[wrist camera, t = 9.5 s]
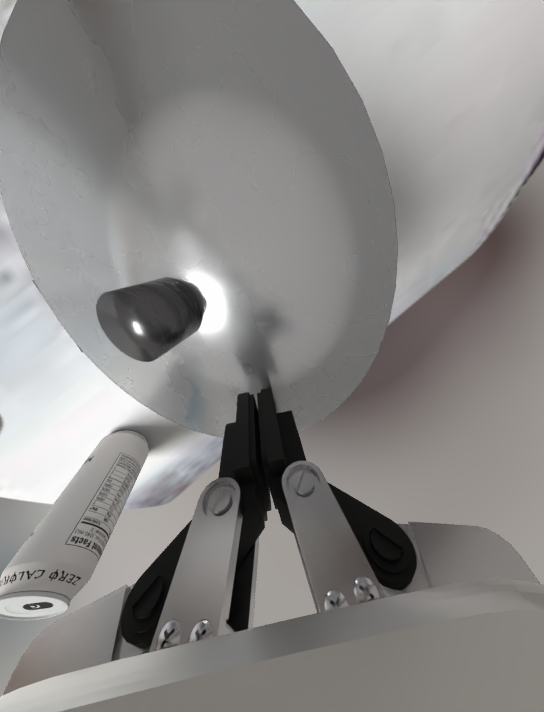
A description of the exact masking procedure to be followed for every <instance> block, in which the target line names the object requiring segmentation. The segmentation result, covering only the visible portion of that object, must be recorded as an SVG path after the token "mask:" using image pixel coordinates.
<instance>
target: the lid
mask: <svg viewBox="0 0 544 712" xmlns="http://www.w3.org/2000/svg"><path fill="white" fill-rule="evenodd" d="M0 190H1V194H2V199H3V203H4V206H5V209H6V212H7V216H8V219H9V222H10V225H11V228H12V231H13V234H14V236H15V239H16V241H17V244H18V246H19V249H20V251H21V254H22V256H23V258H24V260H25V262H26V265H27V267H28V269H29V271H30V273H31V275H32V277H33V279H34V280H32V281H33V282H34V284H35V285H36V287H37V288H38V290H39V291H40V292H41V294H42V295H43V297H44V299H45V300H46V302H47V304H48V305H49V307H50V308H51V310H52V311H53V313H54V314H55V316H56V317H57V319H58V320H59V322H60V323H61V324H62V326H63V327H64V329H65V330H66V331H67V333H68V334H69V335H70V337H71V338H72V339H73V340H74V342H75V343H76V344H77V346H78V347H79V349H80V350H81V352H84V353H85V355H86V356H87V357H88V358H89V359H90V360H91V361H92V362H93V363H94V364H95V365H96V366H97V367H98V368H99V369H100V370H101V371H102V372H103V373H104V374H105V375H106V376H107V377H108V378H109V379H111V380H112V381H113V382H114V383H115V384H116V385H118V386H119V387H120V388H121V389H122V390H124V391H125V392H126V393H127V394H129V395H130V396H132V397H133V398H134V399H136V400H137V401H138V402H140V403H141V404H143V405H144V406H146V407H148V408H149V409H151V410H152V411H154V412H156V413H158V414H159V415H161V416H163V417H165V418H167V419H169V420H171V421H173V422H175V423H177V424H180V425H182V426H184V427H187V428H190V429H192V430H195V431H198V432H202V433H205V434H209V435H212V436H218V437H223V438H224V432H225V426H226V424H228V423H233V422H236V411H237V396H238V394H241V393H246V392H249V394H250V395H251V394H254V397H255V401H256V405H257V409H258V401H257V393H260V392H261V389H265V388H270V387H271V389H272V394H273V398H274V403H275V408H276V413H281V412H286V411H291V410H292V413H293V417H294V420H295V424H296V427H297V430H298V431H299V430H302V429H305V428H307V427H309V426H310V425H312V424H314V423H316V422H318V421H320V420H321V419H323V418H324V417H326V416H327V415H328V414H330V413H331V412H332V411H334V410H335V409H336V408H337V407H339V406H340V405H341V404H342V403H343V402H344V400H346V399H347V398H348V397H349V396H350V394H352V393H353V391H354V390H355V389H356V387H357V386H358V384H359V383H360V382H361V380H362V379H363V378H364V376H365V375H366V374H367V372H368V370H369V368H370V366H371V364H372V362H373V360H374V358H375V356H376V354H377V353H378V351H379V348H380V345H381V343H382V340H383V337H384V334H385V331H386V328H387V326H388V323H389V319H390V314H391V308H392V303H393V298H394V293H395V288H396V271H397V251H398V244H397V233H396V222H395V211H394V201H393V196H392V192H391V188H390V183H389V179H388V175H387V170H386V166H385V162H384V158H383V153H382V150H381V147H380V145H379V142H378V140H377V137H376V135H375V132H374V129H373V127H372V124H371V122H370V119H369V116H368V114H367V111H366V109H365V106H364V104H363V101H362V99H361V97H360V95H359V94H358V92H357V90H356V88H355V87H354V85H353V83H352V81H351V80H350V78H349V76H348V74H347V73H346V71H345V69H344V67H343V66H342V64H341V62H340V60H339V59H338V57H337V55H336V53H335V52H334V50H333V48H332V47H331V46H330V44H329V43H328V42H327V41H326V39H325V38H324V37H323V36H322V34H321V33H320V32H319V31H318V30H317V28H316V27H315V26H314V25H313V23H312V22H311V21H310V20H309V18H308V17H307V16H306V15H305V14H304V12H303V11H302V10H301V9H300V7H299V6H298V5H297V4H296V2H295V1H294V0H17V2H16V4H15V7H14V9H13V11H12V13H11V16H10V18H9V20H8V23H7V25H6V27H5V29H4V32H3V35H2V39H1V43H0Z"/></svg>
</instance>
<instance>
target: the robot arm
mask: <svg viewBox="0 0 544 712" xmlns="http://www.w3.org/2000/svg"><path fill="white" fill-rule="evenodd" d="M257 401H258V409H257V405H256V401H255V397H254V394H251V395H250V394H249V392H246V393H241V394H238V396H237V411H236V422H233V423H228V424H226V426H225V432H224V440H223V448H222V456H221V463H220V472H219V478H218V479H216V480H215V481H212V482H211V483H210V484H209V485H208V486H207V487H206V488H205V490H204V491H203V492H202V494H201V496H200V498H199V500H198V503H197V506H196V509H195V512H194V515H193V519H192V520H191V521H190V522H189V523H188V524H187V525H186V527H185V528H184V529H183V530H182V531H181V532H180V533H179V534H178V535H177V537H176V538H175V539H174V540H173V541H172V542H171V543H170V544H169V546H168V547H167V548H166V549H165V550H164V551H163V552H162V553H161V554H160V556H159V557H158V558H157V559H156V560H155V561H154V562H153V563H152V564H151V566H150V567H149V568H148V569H147V570H146V571H145V572H144V573H143V574H142V576H141V577H140V578H139V579H138V581H137V582H136V583H135V584H134V585H132V586H130V587H129V586H127V585H125V586H123V587H121V588H119V589H117V590H115V591H113V592H112V593H110V594H108V595H106V596H104V597H102V598H100V599H98V600H96V601H94V602H92V603H90V604H88V605H86V606H84V607H83V608H81V609H79V610H77V611H75V612H73V613H71V614H69V615H67V616H65V617H63V618H61V619H59V620H58V621H56V622H54V623H53V624H51V625H50V626H48V627H47V628H46V629H45V630H43V631H42V633H41V634H40V635H39V636H38V637H37V638H36V639H35V640H34V641H33V642H32V643H31V645H30V646H29V647H28V649H27V650H26V652H25V653H24V654H23V655H22V657H21V659H20V660H19V662H18V664H17V666H16V668H15V670H14V672H13V674H12V676H11V678H10V680H9V682H8V685H7V687H6V689H5V691H4V694H3V696H1V697H0V712H544V585H542V584H540V582H539V581H538V579H537V578H536V577H535V575H534V574H533V572H532V571H531V569H530V568H529V567H528V565H527V564H526V562H525V561H524V560H523V558H522V557H521V556H520V554H519V553H518V552H517V551H516V550H515V549H514V547H512V545H510V543H508V542H507V541H506V540H504V539H503V538H502V537H500V535H498V534H496V533H494V532H492V531H490V530H488V529H486V528H482V527H478V526H468V525H453V524H437V523H422V522H408V524H396V523H395V522H393V521H392V520H390V519H389V518H387V517H385V516H384V515H382V514H380V513H379V512H377V511H375V510H373V509H371V508H370V507H368V506H367V505H365V504H363V503H362V502H360V501H358V500H357V499H355V498H353V497H351V496H350V495H348V494H346V493H345V492H343V491H341V490H340V489H338V488H336V487H334V486H333V485H331V484H330V483H328V482H327V481H326V479H325V477H324V475H323V473H322V472H321V470H320V469H319V468H318V467H317V466H316V465H315V464H313V463H311V462H308V461H306V458H305V455H304V451H303V448H302V444H301V441H300V437H299V434H298V430H297V427H296V424H295V420H294V417H293V413H292V410H291V411H286V412H281V413H276V408H275V403H274V398H273V394H272V389H271V387H270V388H265V389H261V392H260V393H257ZM269 488H270V489H269ZM270 492H271V495H272V498H273V502H274V505H275V508H276V509H278V511H279V514H280V518H281V521H282V524H283V525H284V526H286V527H287V528H288V529H289V530H290V531H292V532H293V533H294V536H295V540H296V543H297V547H298V550H299V553H300V557H301V560H302V564H303V567H304V570H305V574H306V577H307V580H308V584H309V587H310V591H311V594H312V598H313V601H314V604H315V608H316V611H317V613H316V614H312V615H308V616H303V617H299V618H294V619H290V620H286V621H281V622H277V623H273V624H269V625H265V626H260V627H256V628H253V619H254V606H255V591H256V577H257V564H258V550H259V535H260V534H261V532H262V531H263V529H264V528H265V524H264V521H267V511H270V510H271V500H270Z"/></svg>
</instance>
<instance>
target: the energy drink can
mask: <svg viewBox="0 0 544 712" xmlns="http://www.w3.org/2000/svg"><path fill="white" fill-rule="evenodd" d="M148 453H149V447H148V443H147V440H146V438H145V437H144V436H142V435H141V434H139V433H137V432H134V431H130V430H121V431H117V432H114V433H113V434H110V435H108V436H106V437H104V438H103V439H102V440H101V441H100V443H99V444H98V445H97V447H96V448H95V449H94V451H93V452H92V453H91V455H90V456H89V457H88V459H87V460H86V461H85V463H84V464H83V465H82V467H81V468H80V469H79V471H78V472H77V474H76V475H75V476H74V478H73V479H72V480H71V482H70V483H69V484H68V486H67V487H66V488H65V490H64V491H63V492H62V494H61V495H60V496H59V498H58V499H57V500H56V502H55V503H54V504H53V506H52V507H51V508H50V510H49V511H48V512H47V514H46V515H45V517H44V518H43V519H42V520H41V522H40V523H39V524H38V526H37V527H36V528H35V530H34V531H33V532H32V534H31V535H30V536H29V538H28V539H27V540H26V542H25V543H24V544H23V546H22V547H21V548H20V550H19V551H18V552H17V554H16V555H15V557H14V558H13V559H12V561H11V562H10V563H9V565H8V566H7V567H6V569H5V570H4V571H3V573H2V575H1V579H0V618H4V619H10V620H37V619H44V618H49V617H53V616H56V615H59V614H61V613H63V612H65V611H66V610H67V608H68V607H69V604H70V601H71V600H72V599H73V597H74V596H75V595H76V594H77V593H78V592H79V591H80V590H81V589H82V588H83V587H84V585H85V584H86V583H87V582H88V581H89V580H90V578H91V576H92V574H93V572H94V570H95V568H96V566H97V563H98V561H99V559H100V557H101V555H102V553H103V551H104V548H105V546H106V544H107V542H108V540H109V537H110V535H111V533H112V531H113V529H114V527H115V525H116V522H117V520H118V518H119V516H120V514H121V512H122V510H123V507H124V505H125V503H126V501H127V499H128V497H129V495H130V492H131V490H132V488H133V486H134V484H135V482H136V479H137V477H138V475H139V473H140V471H141V469H142V467H143V464H144V462H145V460H146V458H147V456H148Z"/></svg>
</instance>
